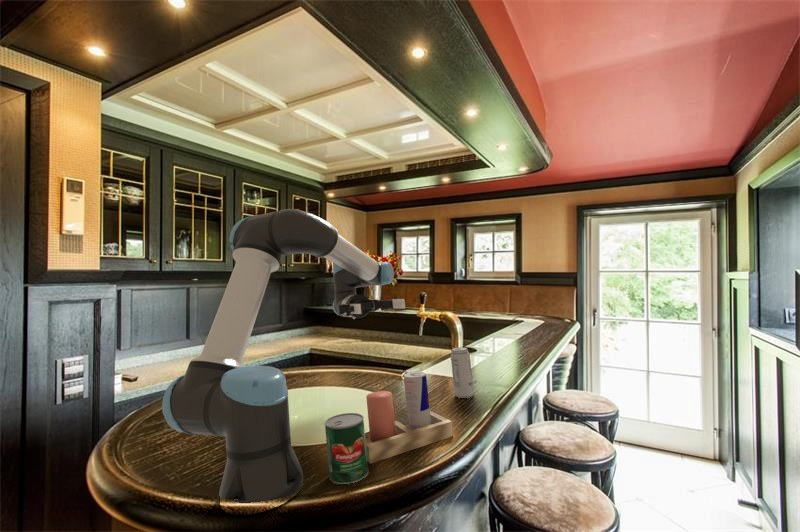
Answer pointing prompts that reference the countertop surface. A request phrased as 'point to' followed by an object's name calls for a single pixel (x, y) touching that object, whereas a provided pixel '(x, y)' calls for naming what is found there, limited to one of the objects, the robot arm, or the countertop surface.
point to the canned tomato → (346, 448)
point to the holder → (409, 438)
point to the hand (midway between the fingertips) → (382, 306)
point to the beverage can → (417, 400)
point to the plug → (380, 415)
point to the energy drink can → (462, 372)
